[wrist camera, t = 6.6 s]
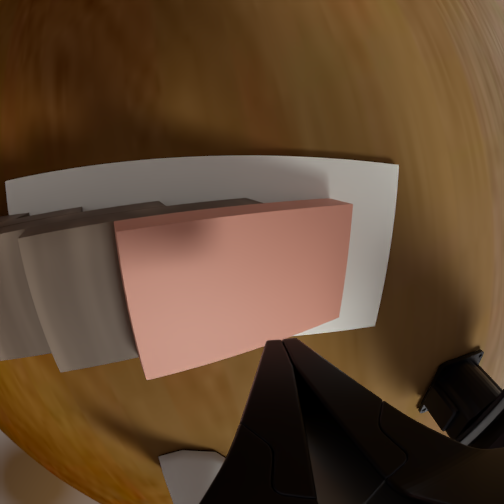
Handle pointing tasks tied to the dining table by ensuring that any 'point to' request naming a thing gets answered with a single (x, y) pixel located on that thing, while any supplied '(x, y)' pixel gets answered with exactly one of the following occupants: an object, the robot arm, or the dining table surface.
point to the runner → (242, 186)
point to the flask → (190, 474)
